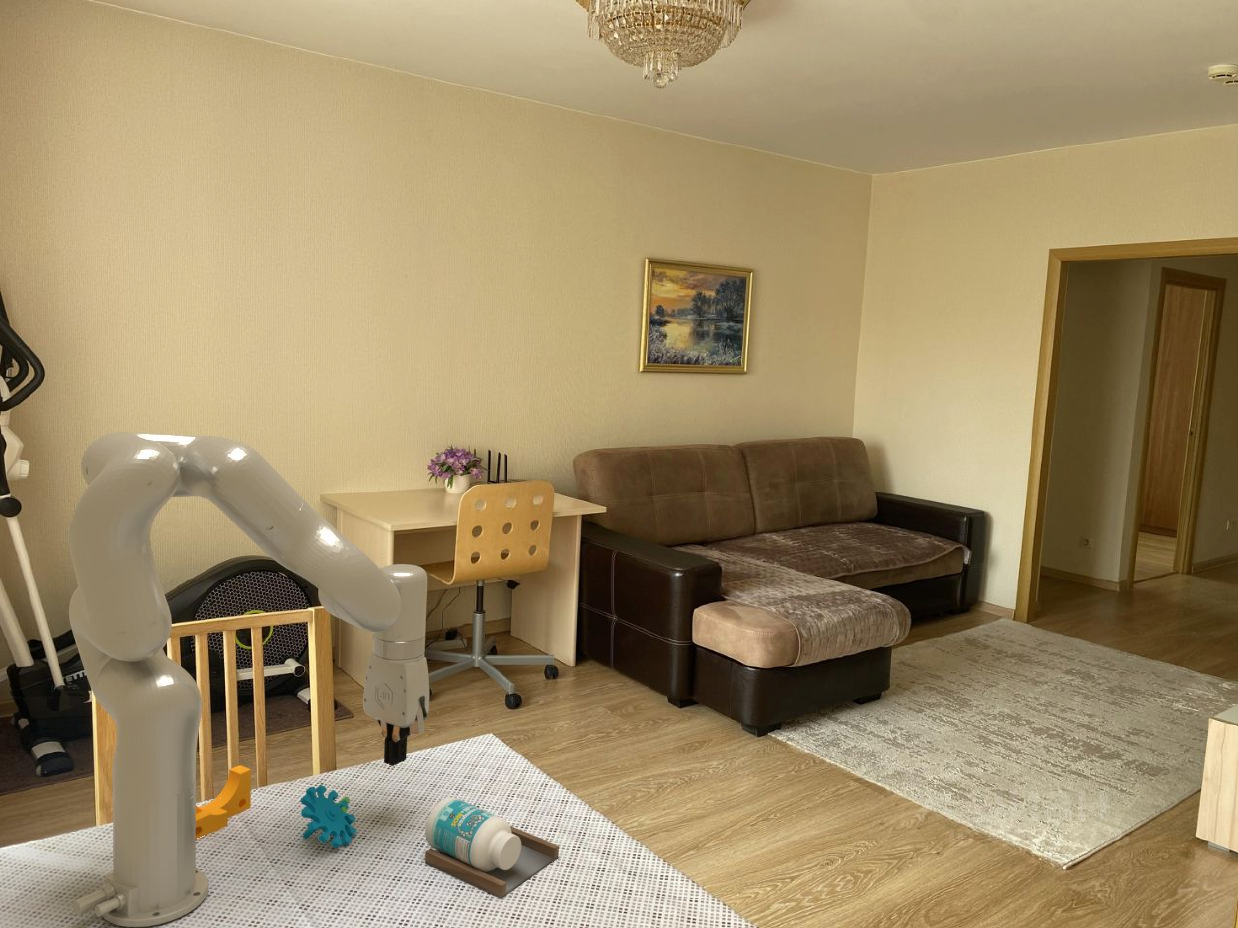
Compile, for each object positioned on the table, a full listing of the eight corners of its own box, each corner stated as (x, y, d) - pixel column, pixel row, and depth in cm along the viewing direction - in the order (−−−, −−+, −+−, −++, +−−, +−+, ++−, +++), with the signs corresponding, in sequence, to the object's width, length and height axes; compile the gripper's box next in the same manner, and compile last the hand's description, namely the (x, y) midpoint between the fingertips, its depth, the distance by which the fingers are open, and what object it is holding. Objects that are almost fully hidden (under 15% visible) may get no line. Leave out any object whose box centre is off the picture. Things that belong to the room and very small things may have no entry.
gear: (335, 852, 131) (295, 794, 133) (306, 877, 132) (266, 818, 133) (372, 825, 142) (335, 772, 143) (345, 848, 142) (308, 795, 144)
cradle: (501, 898, 125) (501, 885, 125) (425, 863, 132) (425, 851, 132) (558, 857, 136) (559, 845, 136) (485, 826, 143) (485, 815, 143)
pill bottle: (459, 787, 139) (529, 816, 132) (458, 833, 140) (527, 865, 133) (422, 807, 133) (493, 839, 125) (421, 855, 134) (492, 890, 127)
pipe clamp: (188, 845, 134) (189, 802, 133) (169, 835, 136) (169, 794, 135) (258, 811, 144) (258, 772, 144) (239, 803, 146) (239, 764, 146)
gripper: (346, 641, 142) (343, 755, 144) (417, 663, 134) (412, 784, 136) (383, 630, 149) (379, 740, 151) (453, 651, 141) (447, 767, 143)
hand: (395, 761), depth 143 cm, fingers closed
